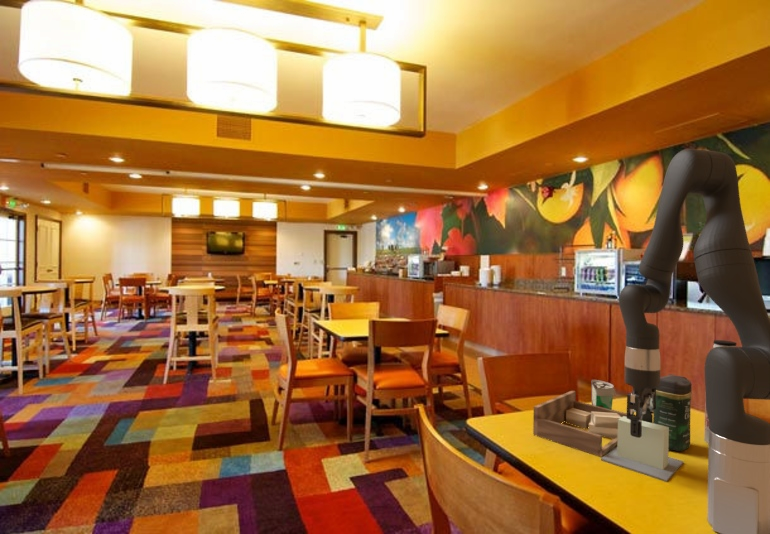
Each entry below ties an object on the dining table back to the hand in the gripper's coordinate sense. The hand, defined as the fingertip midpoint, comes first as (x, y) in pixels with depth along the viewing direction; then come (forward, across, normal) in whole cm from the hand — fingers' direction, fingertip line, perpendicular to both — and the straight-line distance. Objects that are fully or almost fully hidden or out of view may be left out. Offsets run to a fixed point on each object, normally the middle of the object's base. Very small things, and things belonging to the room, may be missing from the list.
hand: (641, 432), depth 105 cm
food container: (+7, +28, +19) cm, 34 cm away
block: (+7, +1, 0) cm, 7 cm away
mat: (+7, +1, 0) cm, 7 cm away
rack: (+7, +8, +17) cm, 20 cm away
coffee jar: (+7, +18, -2) cm, 19 cm away
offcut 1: (+7, +14, +21) cm, 26 cm away
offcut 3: (+7, +12, +13) cm, 19 cm away
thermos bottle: (+7, +30, -11) cm, 32 cm away
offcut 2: (+4, +12, +12) cm, 18 cm away
